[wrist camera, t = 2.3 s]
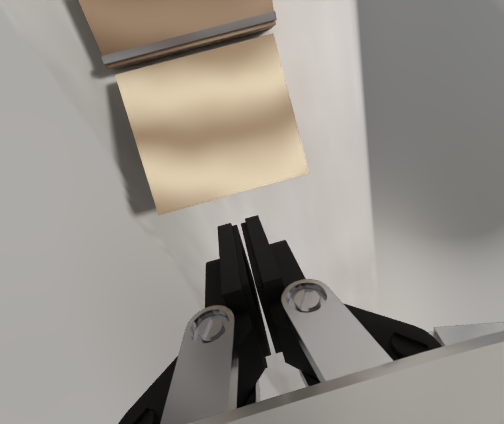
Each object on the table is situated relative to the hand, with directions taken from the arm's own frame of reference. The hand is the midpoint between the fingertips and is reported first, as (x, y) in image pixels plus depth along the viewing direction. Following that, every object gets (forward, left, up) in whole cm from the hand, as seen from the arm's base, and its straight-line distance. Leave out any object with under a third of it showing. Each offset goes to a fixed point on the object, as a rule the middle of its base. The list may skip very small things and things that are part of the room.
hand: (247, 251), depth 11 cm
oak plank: (-3, 0, -14) cm, 14 cm away
